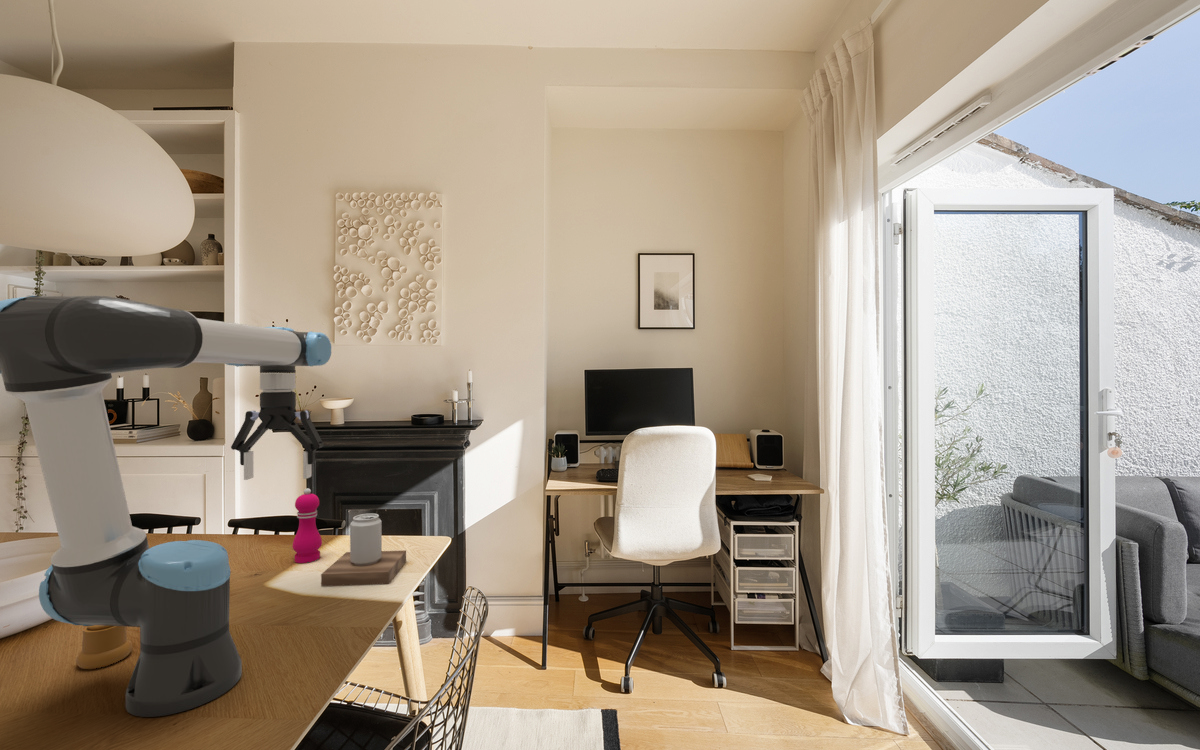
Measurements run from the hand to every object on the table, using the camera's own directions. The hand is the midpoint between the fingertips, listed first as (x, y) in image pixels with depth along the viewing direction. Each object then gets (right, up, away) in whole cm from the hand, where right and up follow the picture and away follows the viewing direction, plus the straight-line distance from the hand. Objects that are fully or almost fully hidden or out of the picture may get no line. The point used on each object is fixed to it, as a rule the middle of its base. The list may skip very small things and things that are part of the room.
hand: (278, 478), depth 129 cm
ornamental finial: (-12, -27, -32) cm, 44 cm away
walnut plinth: (+17, -27, +10) cm, 33 cm away
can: (+17, -24, +10) cm, 31 cm away
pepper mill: (-4, -27, +20) cm, 34 cm away
